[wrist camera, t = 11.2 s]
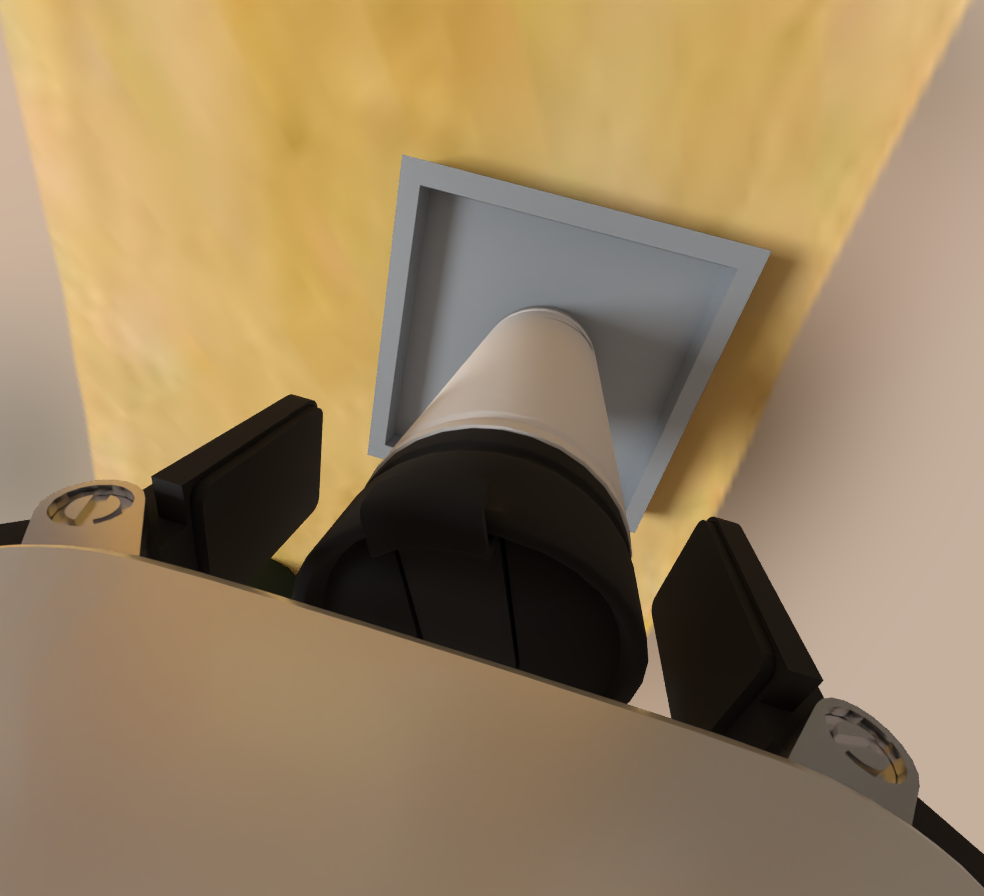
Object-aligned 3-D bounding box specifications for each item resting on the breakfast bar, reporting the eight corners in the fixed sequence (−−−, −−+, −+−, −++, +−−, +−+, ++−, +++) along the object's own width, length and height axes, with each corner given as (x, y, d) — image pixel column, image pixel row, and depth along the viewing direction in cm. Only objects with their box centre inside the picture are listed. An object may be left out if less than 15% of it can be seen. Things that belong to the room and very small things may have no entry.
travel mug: (594, 292, 23) (675, 498, 5) (595, 412, 26) (649, 818, 8) (476, 303, 24) (204, 499, 6) (489, 416, 27) (326, 777, 9)
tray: (419, 162, 22) (402, 154, 20) (751, 249, 22) (771, 250, 19) (383, 438, 30) (367, 454, 27) (629, 510, 29) (634, 533, 27)
